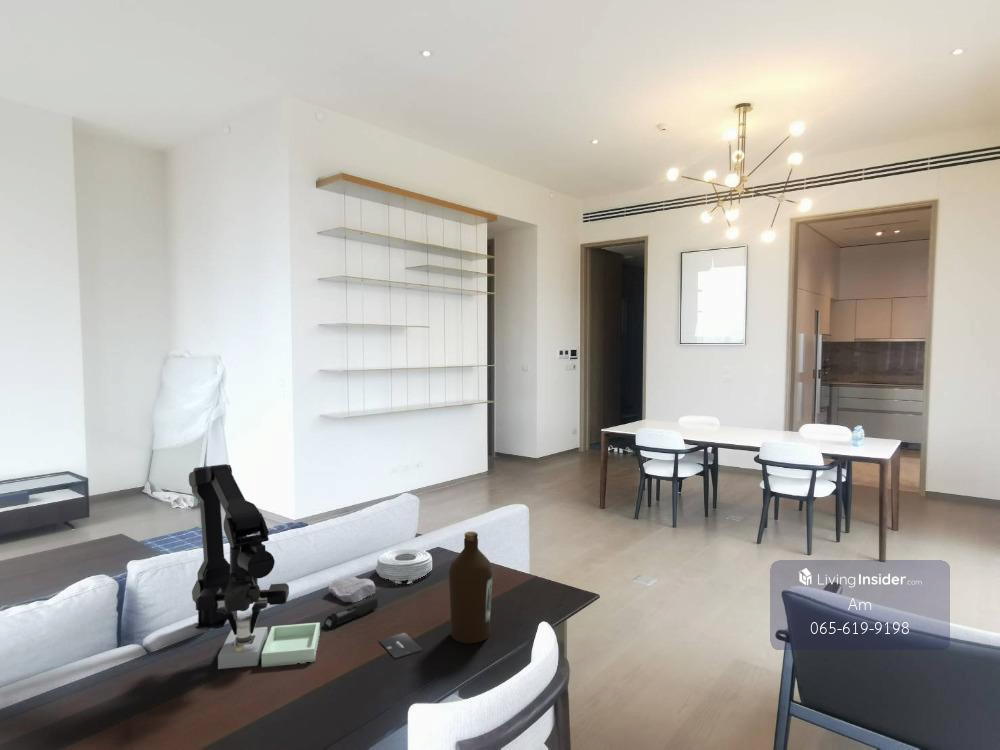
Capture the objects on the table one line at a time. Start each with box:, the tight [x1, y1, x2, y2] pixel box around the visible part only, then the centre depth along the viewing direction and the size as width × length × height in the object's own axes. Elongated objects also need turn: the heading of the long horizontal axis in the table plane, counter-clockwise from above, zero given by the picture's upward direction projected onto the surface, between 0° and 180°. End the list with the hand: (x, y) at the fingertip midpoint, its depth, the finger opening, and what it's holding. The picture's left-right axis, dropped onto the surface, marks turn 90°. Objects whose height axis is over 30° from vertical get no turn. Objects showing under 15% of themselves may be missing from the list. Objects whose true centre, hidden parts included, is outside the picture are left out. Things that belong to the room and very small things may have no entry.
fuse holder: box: [217, 626, 269, 670], centre depth 132 cm, size 8×12×4 cm, turn 12°
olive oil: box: [448, 531, 494, 644], centre depth 142 cm, size 11×11×25 cm
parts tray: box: [261, 622, 321, 668], centre depth 134 cm, size 11×13×3 cm
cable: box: [375, 547, 433, 585], centre depth 182 cm, size 18×18×6 cm
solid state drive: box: [378, 632, 423, 660], centre depth 136 cm, size 7×10×1 cm
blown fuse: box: [236, 615, 252, 645], centre depth 132 cm, size 3×3×8 cm
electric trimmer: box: [323, 598, 379, 630], centre depth 151 cm, size 4×16×3 cm, turn 140°
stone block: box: [327, 574, 376, 603], centre depth 165 cm, size 12×5×10 cm
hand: (244, 633), depth 132 cm, fingers closed on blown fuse, 3 cm apart
